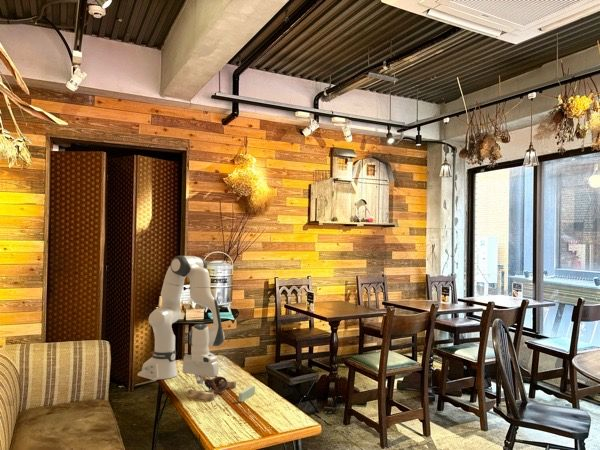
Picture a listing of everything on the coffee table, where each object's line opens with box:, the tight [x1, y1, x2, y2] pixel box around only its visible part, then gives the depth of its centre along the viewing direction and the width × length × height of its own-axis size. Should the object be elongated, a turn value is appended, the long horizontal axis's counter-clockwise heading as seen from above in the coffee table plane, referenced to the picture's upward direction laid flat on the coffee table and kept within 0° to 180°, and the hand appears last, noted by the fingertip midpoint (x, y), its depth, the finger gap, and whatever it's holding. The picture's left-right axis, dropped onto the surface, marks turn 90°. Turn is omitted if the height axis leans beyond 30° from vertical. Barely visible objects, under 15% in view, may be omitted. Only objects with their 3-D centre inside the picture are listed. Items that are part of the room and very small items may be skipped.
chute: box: [187, 377, 237, 402], centre depth 230 cm, size 14×22×3 cm, turn 156°
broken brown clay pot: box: [203, 375, 228, 395], centre depth 231 cm, size 12×9×8 cm
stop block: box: [238, 385, 256, 403], centre depth 222 cm, size 2×12×4 cm, turn 156°
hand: (199, 383), depth 233 cm, fingers closed
